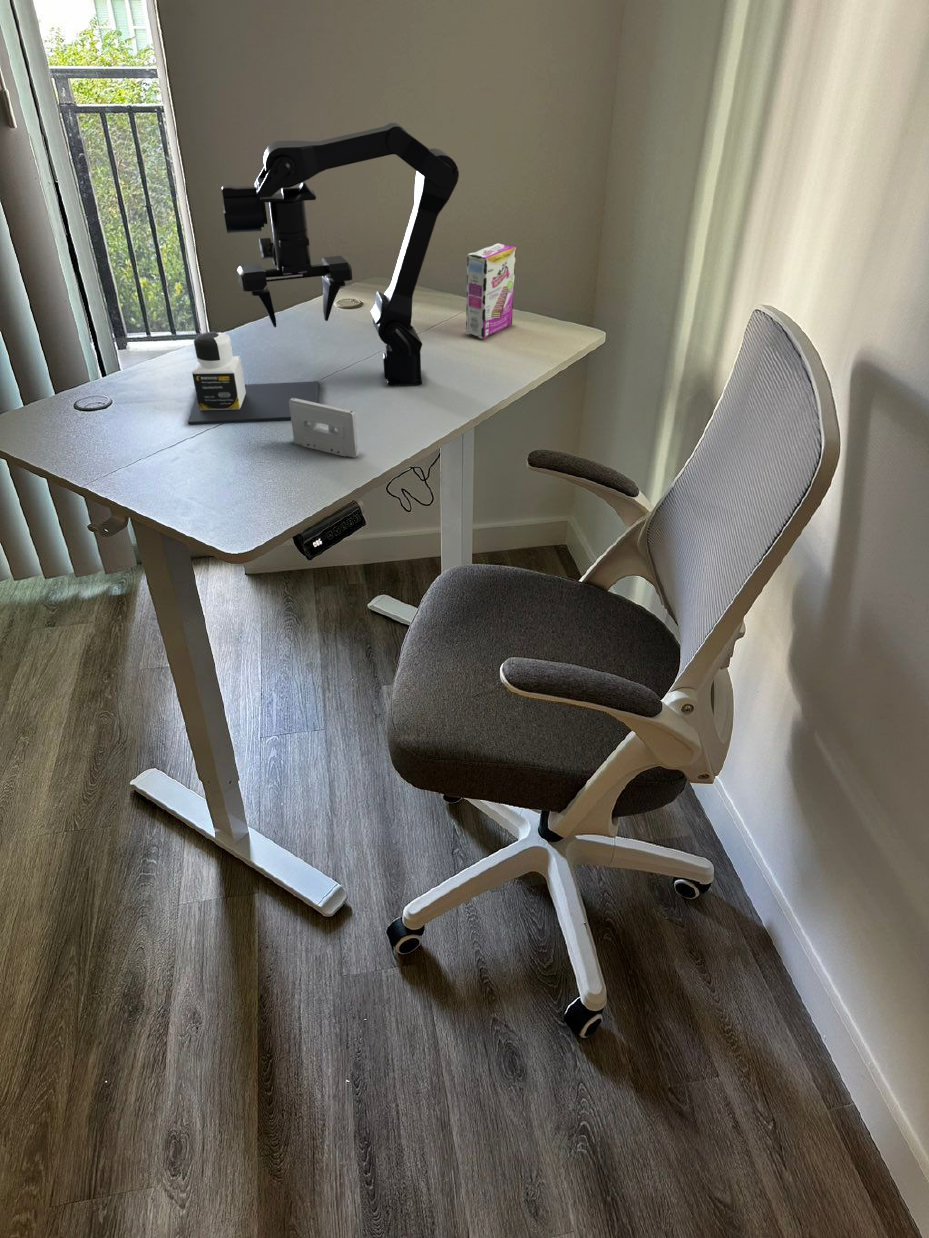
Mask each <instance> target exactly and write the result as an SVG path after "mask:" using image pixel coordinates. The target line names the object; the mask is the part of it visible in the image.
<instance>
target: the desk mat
mask: <svg viewBox="0 0 929 1238" xmlns="http://www.w3.org/2000/svg"><path fill="white" fill-rule="evenodd" d="M245 390H246V394H245V397H244V400H243V402H242V405H241V408H240V409H239V410H200V409H199V405H198V400H197V395H196V394H195V397H194V400H193V404H192V408H191V411H190V414H189V418H188V421H187V424H188V426H195V425H196V426H198V425H215V424H237V423H239V424H241V423H258V422H260V423H261V422H277V421H278V422H279V421H291V414H290V406H289V400H290V399H292V398H296V399H301V400H305V401H310V402H314V403H319V404H320V402H319V401H320V399H319V398H320V381H319V380H318V381H317V380H316V381H315V380H314V381H296V382H295V381H294V382H293V381H292V382H271V383H252V384H248V383H247V384H245Z"/></svg>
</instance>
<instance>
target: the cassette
mask: <svg viewBox="0 0 929 1238" xmlns="http://www.w3.org/2000/svg"><path fill="white" fill-rule="evenodd" d="M289 406H290V414H291V420H290V422H291V429H292V436H293V442H294V443H295V444H296V445H300V446H302V447H304V448H308V449H312V450H317V451H321V452H325V453H327V454H334V455H337V456H342V457H349V458H353V459H355V458H356V457H358V456H359V443H358V431H357V418H356V412H355V411H354V410H349V409H345V408H340V407H337V406H331V405H327V404H323V403H320V402H319V403H314V402H310V401H305V400H301V399H296V398H292V399H290V400H289ZM320 424H322V425H325V426H328V427H325V426H320Z"/></svg>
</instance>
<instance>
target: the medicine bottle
mask: <svg viewBox="0 0 929 1238" xmlns="http://www.w3.org/2000/svg"><path fill="white" fill-rule="evenodd" d="M193 345H194V350H195V356H196V364H195V366H194V368H193V369H192V372H191V375H192V380H193V384H194V385H193V386H194V391H195V396H196V395H197V400H198V405H199V409H200V410H239V409H240V408H241V405H242V402H243V400H244V397H245V394H246V390H245V385H246V384H245V380H244V378H245V377H244V372H243V365H242V359H241V356H240V355H234V353H233V348H232V341H231V337H230V336H229V335H228V334H227V333H224V332H222V331H221V332H220V331H207V332H203V333H200V334H199V335H197V336H195V338H194V340H193Z"/></svg>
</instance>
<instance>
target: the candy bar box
mask: <svg viewBox="0 0 929 1238" xmlns="http://www.w3.org/2000/svg"><path fill="white" fill-rule="evenodd" d="M516 255H517V247H516V246H512V245H510V244H505V243H504V244H502V243H496V244H492V245H488V246H486V247H484V248H481V249H479V250H476V251H473V252H470V253H467V255H466V256H467V257H466V258H467V261H466V262H467V263H466V309H465V311H466V314H465V315H466V316H465V335H466V336H469V337H473V338H476V339H478V340H479V339H480V340H485V339H487V338H489V337H491V336H493V335H496V334H497V333H499V332H501V331H503V330H505V329H507V328H509V327H511V326H512V325H513V313H514V312H513V311H514V295H515V293H514V292H515V277H516V276H515V274H516V273H515V272H516Z"/></svg>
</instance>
